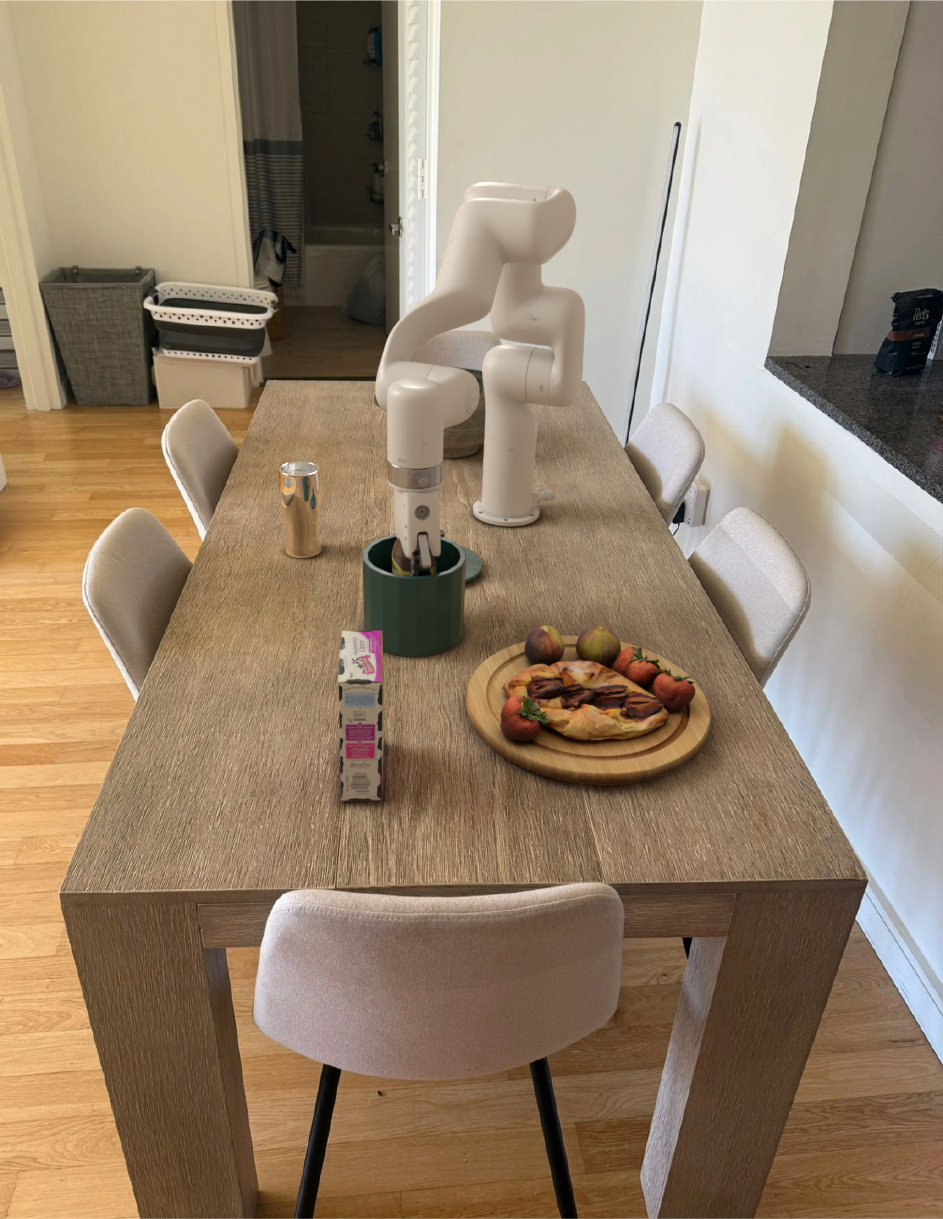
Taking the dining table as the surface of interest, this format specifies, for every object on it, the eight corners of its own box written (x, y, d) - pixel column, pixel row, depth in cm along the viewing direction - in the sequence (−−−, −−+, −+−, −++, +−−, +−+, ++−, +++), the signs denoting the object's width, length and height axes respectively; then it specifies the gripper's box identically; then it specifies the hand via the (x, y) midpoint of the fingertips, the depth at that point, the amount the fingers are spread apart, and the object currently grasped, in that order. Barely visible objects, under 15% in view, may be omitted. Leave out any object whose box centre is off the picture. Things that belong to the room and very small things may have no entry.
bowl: (506, 426, 224) (509, 363, 216) (531, 466, 202) (536, 397, 194) (369, 428, 218) (368, 364, 211) (380, 470, 196) (379, 399, 189)
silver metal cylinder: (316, 561, 159) (312, 478, 152) (277, 556, 160) (270, 473, 153) (329, 544, 165) (326, 463, 158) (291, 539, 166) (286, 458, 159)
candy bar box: (384, 802, 108) (383, 682, 99) (340, 803, 107) (335, 683, 99) (384, 741, 117) (383, 628, 109) (343, 742, 117) (339, 628, 109)
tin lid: (455, 542, 168) (456, 507, 164) (498, 579, 156) (500, 543, 153) (374, 557, 161) (373, 521, 158) (412, 598, 149) (412, 560, 146)
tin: (436, 598, 149) (437, 526, 143) (480, 643, 138) (484, 567, 132) (349, 617, 143) (347, 542, 137) (388, 666, 132) (387, 587, 126)
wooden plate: (545, 822, 106) (550, 764, 102) (424, 677, 130) (424, 626, 126) (762, 747, 119) (775, 693, 115) (615, 629, 143) (622, 580, 139)
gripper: (457, 494, 122) (453, 615, 131) (427, 448, 136) (426, 559, 145) (400, 498, 120) (400, 620, 129) (376, 451, 135) (377, 564, 144)
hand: (414, 587), depth 137 cm, fingers closed on sauce bottle, 6 cm apart
